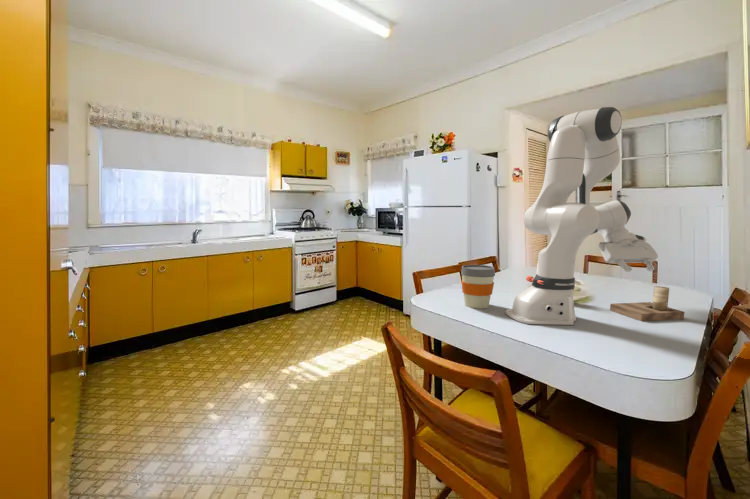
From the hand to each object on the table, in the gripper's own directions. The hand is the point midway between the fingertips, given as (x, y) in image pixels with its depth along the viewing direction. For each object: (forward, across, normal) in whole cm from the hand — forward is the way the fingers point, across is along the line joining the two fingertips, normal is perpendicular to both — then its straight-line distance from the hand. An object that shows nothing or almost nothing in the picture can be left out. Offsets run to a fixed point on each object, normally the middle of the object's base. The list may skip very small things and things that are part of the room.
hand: (640, 270), depth 125 cm
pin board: (+15, -4, +5) cm, 17 cm away
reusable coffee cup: (+2, -58, +19) cm, 61 cm away
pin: (+16, 0, +4) cm, 17 cm away
